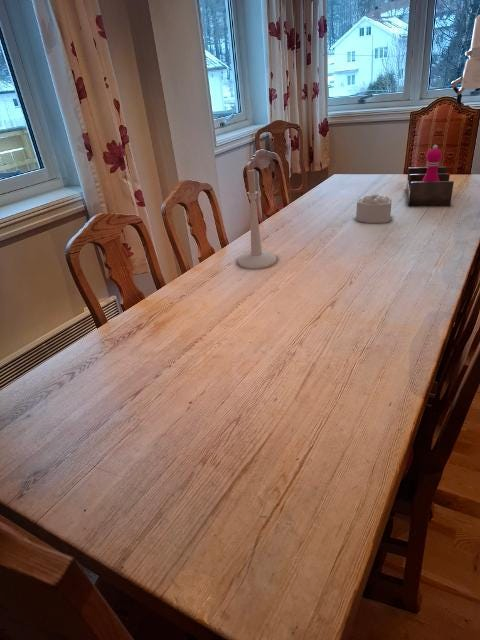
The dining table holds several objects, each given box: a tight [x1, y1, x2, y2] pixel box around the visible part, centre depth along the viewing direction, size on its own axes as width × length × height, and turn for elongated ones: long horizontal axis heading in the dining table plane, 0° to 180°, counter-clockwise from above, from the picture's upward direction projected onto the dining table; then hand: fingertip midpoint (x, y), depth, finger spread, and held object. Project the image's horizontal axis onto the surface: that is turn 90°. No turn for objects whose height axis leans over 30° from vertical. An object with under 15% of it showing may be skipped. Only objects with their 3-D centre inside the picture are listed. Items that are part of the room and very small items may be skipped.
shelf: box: [405, 166, 455, 207], centre depth 188 cm, size 16×28×10 cm, turn 163°
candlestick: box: [237, 169, 277, 270], centre depth 137 cm, size 13×13×30 cm
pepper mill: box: [422, 144, 443, 182], centre depth 178 cm, size 7×7×20 cm
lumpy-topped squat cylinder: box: [355, 193, 392, 224], centre depth 169 cm, size 10×13×9 cm
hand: (472, 104), depth 168 cm, fingers open, 9 cm apart
